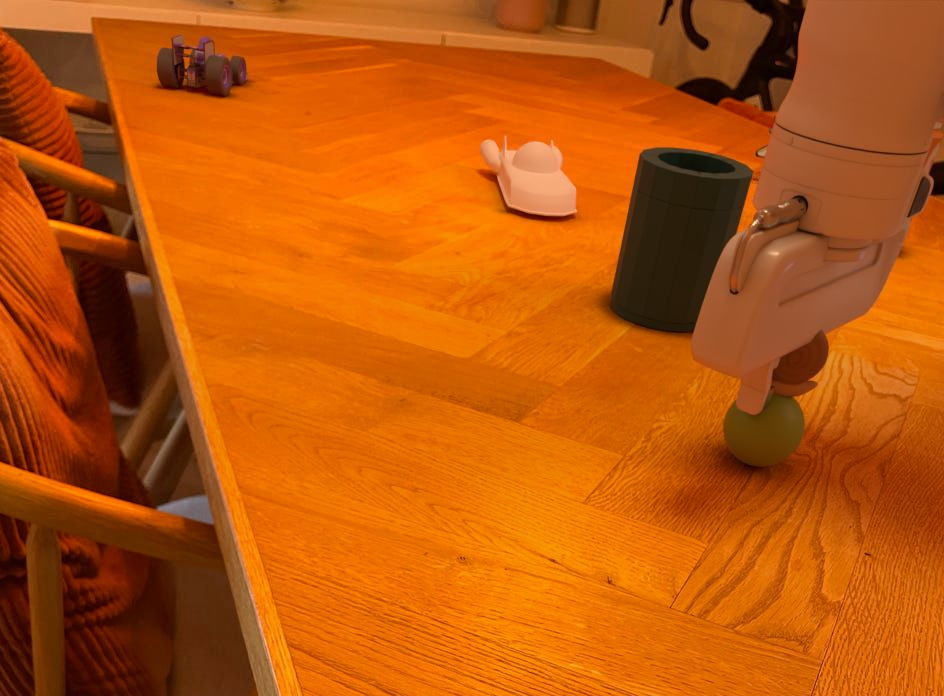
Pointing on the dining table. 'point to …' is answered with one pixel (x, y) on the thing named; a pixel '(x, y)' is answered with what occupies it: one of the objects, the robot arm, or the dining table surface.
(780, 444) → the snail figurine
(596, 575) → the dining table surface
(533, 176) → the white domed toy
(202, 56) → the toy race car
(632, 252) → the jar
